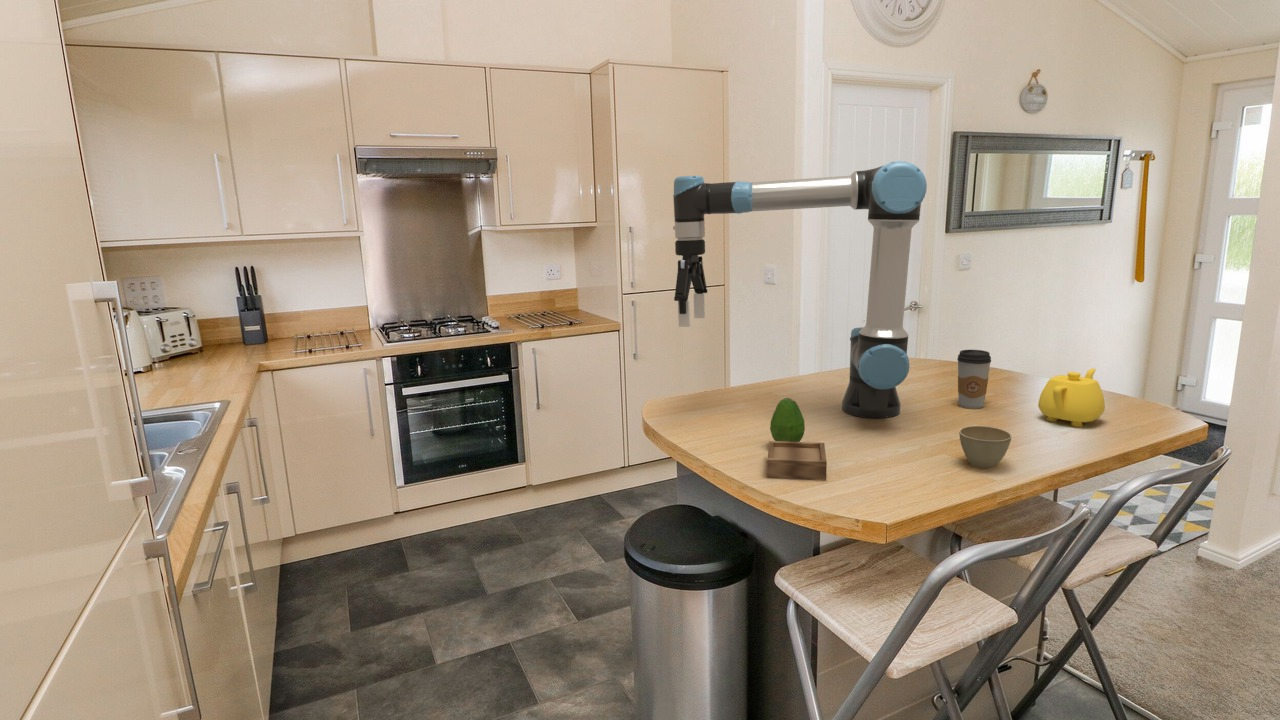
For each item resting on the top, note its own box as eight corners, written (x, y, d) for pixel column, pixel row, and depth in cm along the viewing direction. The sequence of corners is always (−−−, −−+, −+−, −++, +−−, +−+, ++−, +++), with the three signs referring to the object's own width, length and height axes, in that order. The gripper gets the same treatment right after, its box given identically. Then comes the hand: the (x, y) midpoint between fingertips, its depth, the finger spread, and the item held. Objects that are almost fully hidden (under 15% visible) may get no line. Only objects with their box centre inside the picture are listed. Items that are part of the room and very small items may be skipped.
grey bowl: (948, 458, 154) (950, 427, 152) (991, 455, 155) (994, 424, 153) (973, 474, 144) (975, 441, 142) (1019, 471, 145) (1022, 438, 143)
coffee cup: (954, 408, 189) (958, 354, 186) (953, 400, 197) (957, 348, 194) (989, 411, 186) (993, 356, 183) (986, 402, 194) (990, 349, 190)
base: (823, 459, 155) (824, 442, 155) (826, 480, 144) (826, 462, 143) (769, 457, 158) (769, 440, 157) (767, 477, 146) (767, 459, 146)
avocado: (783, 454, 160) (783, 404, 157) (763, 444, 167) (764, 396, 164) (811, 448, 163) (812, 399, 160) (791, 439, 170) (792, 391, 167)
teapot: (1117, 418, 177) (1123, 370, 174) (1081, 434, 165) (1086, 384, 163) (1061, 407, 187) (1066, 362, 185) (1023, 421, 176) (1027, 374, 174)
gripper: (689, 236, 189) (692, 314, 193) (659, 242, 166) (662, 330, 170) (716, 236, 186) (718, 314, 190) (689, 241, 163) (692, 330, 168)
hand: (692, 322), depth 180 cm, fingers open, 13 cm apart
